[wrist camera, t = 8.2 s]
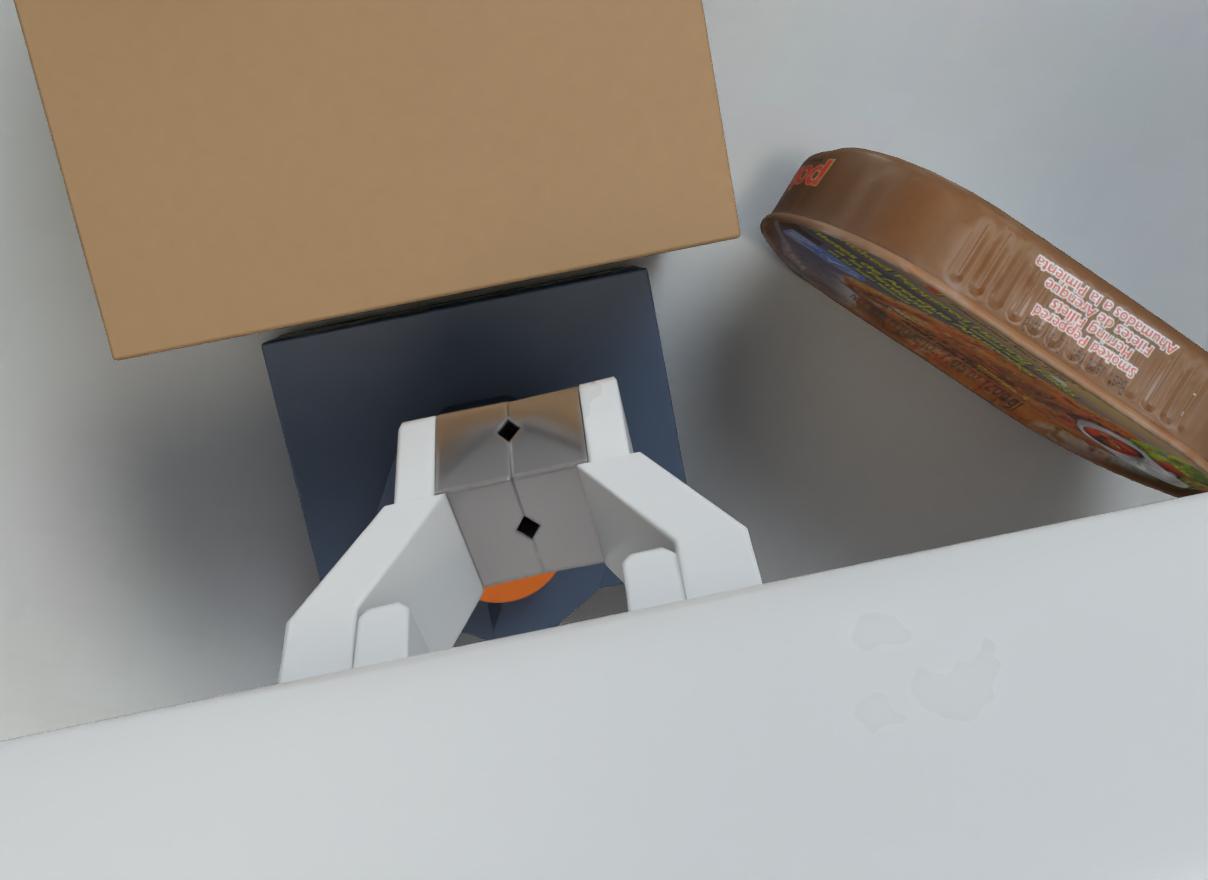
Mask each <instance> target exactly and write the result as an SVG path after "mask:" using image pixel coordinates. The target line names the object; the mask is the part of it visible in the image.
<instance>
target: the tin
mask: <svg viewBox="0 0 1208 880" xmlns="http://www.w3.org/2000/svg"><path fill="white" fill-rule="evenodd" d="M760 227H761V232H762V234H763V236H764V238H765V239H766V241H767V243H768V244H769V245H770V246H771V248H772V249H773V250H774V251H775V252H776V254H777V255H778V256H779V257H780V258H781V259H782V260H783V261H784V262H785V263H786V264H787V265H788V266H789V267H791V268H792V269H793V270H794V271H795V272H797V273H798V274H799V275H800V276H801V277H803V278H804V279H805V280H807V281H808V282H809V283H811V284H812V285H813V286H815V287H816V288H818V289H819V290H821V291H822V292H823V293H825V294H826V295H827V296H829V297H830V298H832V299H833V300H835V301H836V302H838V303H839V304H841V305H842V306H844V307H845V308H847V309H848V310H850V311H851V312H853V313H854V314H856V315H857V316H859V317H861V318H862V319H863V320H865V321H866V322H868V323H869V324H871V325H873V326H874V327H875V328H877V329H879V330H880V331H882V332H883V333H885V334H887V335H888V336H890V337H891V338H892V339H894V340H895V341H897V342H898V343H900V344H902V345H903V346H905V347H906V348H908V349H909V350H911V351H912V352H914V353H915V354H917V355H918V356H920V357H921V358H923V359H925V360H926V361H928V362H929V363H931V364H932V365H934V366H935V367H937V368H938V369H940V370H941V371H943V372H944V373H946V374H947V375H949V376H950V377H952V378H953V379H955V380H956V381H958V382H959V383H961V384H962V385H964V386H965V387H967V388H968V389H970V390H971V391H973V392H974V393H976V394H977V395H979V396H981V397H982V398H984V399H985V400H987V401H988V402H990V403H991V404H993V405H994V406H996V407H997V408H999V409H1000V410H1002V411H1004V412H1005V413H1007V414H1008V415H1010V416H1011V417H1013V418H1014V419H1016V420H1017V421H1019V422H1021V423H1022V424H1024V425H1025V426H1027V427H1029V428H1030V429H1032V430H1034V431H1035V432H1037V433H1039V434H1040V435H1043V436H1045V437H1046V438H1048V439H1050V440H1051V441H1053V442H1055V443H1057V444H1058V445H1060V446H1062V447H1064V448H1066V449H1068V450H1069V451H1071V452H1073V453H1075V454H1077V455H1079V456H1081V457H1083V458H1085V459H1087V460H1089V461H1091V462H1093V463H1094V464H1096V465H1099V466H1101V467H1104V468H1106V469H1108V470H1110V471H1112V472H1114V473H1116V474H1119V475H1121V476H1124V477H1126V478H1128V479H1130V480H1132V481H1135V482H1138V483H1140V484H1143V485H1145V486H1148V487H1151V488H1154V489H1157V490H1159V491H1162V492H1164V493H1166V494H1169V495H1172V496H1175V497H1177V498H1181V497H1186V496H1191V495H1195V494H1200V493H1205V492H1208V352H1207V351H1205V350H1204V349H1202V348H1201V347H1200V346H1198V345H1197V344H1195V343H1194V342H1192V341H1191V340H1190V339H1188V338H1187V337H1185V336H1184V335H1183V334H1181V333H1180V332H1178V331H1177V330H1176V329H1174V328H1173V327H1171V326H1170V325H1168V324H1167V323H1166V322H1164V321H1163V320H1161V319H1160V318H1159V317H1157V316H1156V315H1154V314H1153V313H1151V312H1150V311H1148V310H1147V309H1145V308H1144V307H1143V306H1141V305H1140V304H1138V303H1137V302H1135V301H1134V300H1132V299H1131V298H1129V297H1128V296H1127V295H1125V294H1124V293H1123V292H1121V291H1120V290H1118V289H1117V288H1115V287H1114V286H1112V285H1111V284H1109V283H1108V282H1106V281H1105V280H1103V279H1102V278H1100V277H1099V276H1098V275H1096V274H1095V273H1093V272H1092V271H1090V270H1089V269H1088V268H1086V267H1085V266H1083V265H1082V264H1080V263H1079V262H1077V261H1076V260H1074V259H1073V258H1071V257H1070V256H1068V255H1067V254H1065V253H1064V252H1062V251H1061V250H1059V249H1058V248H1056V247H1055V246H1053V245H1052V244H1051V243H1049V242H1048V241H1046V240H1045V239H1044V238H1042V237H1040V236H1039V235H1037V234H1036V233H1034V232H1033V231H1031V230H1030V229H1028V228H1027V227H1025V226H1024V225H1023V224H1021V223H1020V222H1018V221H1017V220H1015V219H1014V218H1012V217H1011V216H1009V215H1008V214H1006V213H1005V212H1003V211H1002V210H1000V209H999V208H997V207H996V206H994V205H992V204H991V203H989V202H987V201H986V200H984V199H982V198H981V197H979V196H978V195H976V194H974V193H973V192H971V191H969V190H967V189H965V188H963V187H961V186H959V185H958V184H956V183H954V182H952V181H950V180H948V179H946V178H944V177H942V176H940V175H938V174H936V173H934V172H932V171H930V170H927V169H925V168H922V167H920V166H917V165H915V164H912V163H910V162H907V161H905V160H902V159H900V158H897V157H893V156H890V155H886V154H883V153H879V152H875V151H871V150H866V149H861V148H841V149H837V150H833V151H827V152H821V153H817V154H815V155H812V156H811V157H809V158H808V159H807V160H806V161H805V162H804V163H803V164H802V166H801V167H800V168H799V170H798V171H797V173H796V174H795V176H794V178H793V179H792V181H791V183H790V184H789V186H788V188H787V189H786V191H785V193H784V194H783V196H782V197H781V199H780V201H779V202H778V204H777V206H776V207H775V209H774V210H773V212H772V213H771V214H769V215H767V216H766V217H765V218H764V219H763V220H762V222H761V225H760Z"/></svg>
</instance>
